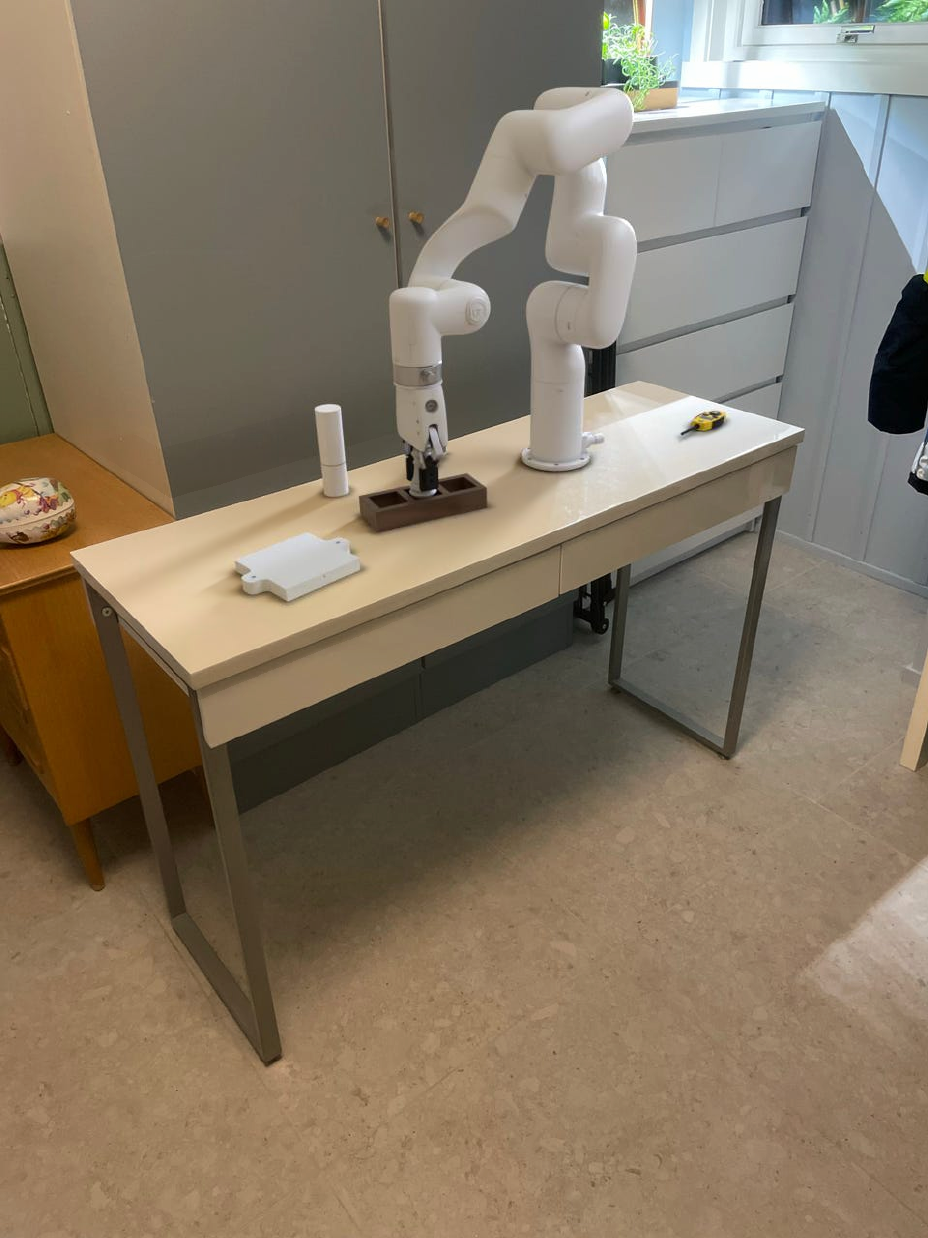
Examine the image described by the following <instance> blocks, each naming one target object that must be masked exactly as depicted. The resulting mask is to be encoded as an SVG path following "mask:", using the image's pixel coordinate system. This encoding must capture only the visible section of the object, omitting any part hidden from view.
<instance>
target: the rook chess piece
mask: <svg viewBox="0 0 928 1238" xmlns="http://www.w3.org/2000/svg"><path fill="white" fill-rule="evenodd" d="M427 447H428V446H427V445H425V448H427ZM430 454H431V452H427V453H425V458H427V456H428V455H430ZM411 455H412V456H413V457H414V461H413V464H414V476H413V478H412V481H410V482H409V485H408V486H409V487H410V491H409V492H410V494H411V495H412V496H413V497H416V498H428V497H431V496H433V495H434V494H435V492H436V489H435V490H430V491H425V492H421V491H420V489H419V469H418V468H421V465H420V458H419V450H418V449H416V448H415V447H413V451H412V452H411Z"/></svg>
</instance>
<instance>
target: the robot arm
mask: <svg viewBox="0 0 928 1238" xmlns="http://www.w3.org/2000/svg"><path fill="white" fill-rule="evenodd" d="M634 119H635V112H634V107H633V104H632V101H631V99H630V97H629V96H628V95H627V94H626V93H625V92H624V91H622V90H621V89H618V88H616V87H584V86H583V87H582V86H581V87H580V86H566V87H565V86H563V87H554V88H551V89H548V90H545V91H543V92H542V93H541V94H540V95H539V96H538V97H537V99H536V100H535V103H534V106H533V109H517V110H514V111H509V112H507V113H506V114H504V115H503V116H501V118H500V119H499V120H498V122H497V123H496V126H495V127H494V130H493V132H492V135H491V137H490V139H489V142H488V144H487V146H486V149H485V151H484V154H483V156H482V159H481V161H480V165H479V167H478V169H477V172H476V174H475V177H474V178H473V182H472V184H471V186H470V189H469V192H468V194H467V195H466V198H465V200H464V202H463V204H462V205H461V207H459V208H458V209H457V210H456V211H455V212H454V213H452V214H451V216H450V217H448V218H447V219H446V220H445V221H444V222H443V223H442V224H441V226H440V227H439V228H437V230H436V231H434V233H433V234H432V235H431V236H430V237H429V239H428V240H427V241H426V243H425V244H424V246H423V248H422V249H421V251H420V252H419V255H418V257H417V259H416V262H415V265H414V267H413V269H412V272H411V274H410V277H409V279H408V280H409V281H408V283H407V287H401V288H398V289H396V290H394V291H393V292H392V293H390V295H389V299H388V309H389V310H388V312H389V329H390V343H391V345H390V346H391V360H392V362H391V363H392V378H393V385H394V386H395V418H396V427H397V429H396V430H397V434H398V435H399V436H400V437H401V439H402V443H403V445H404V448H403V453H404V456H405V475H406V477H405V478H406V481H408V482H412V478H413V476H414V464H413V461H414V457H413V456H412V455H411V452H412V451H413V447H415V448H416V449H418V450H419V458H420V465H421V468H418V469H419V489H420V491H421V492H425V491H430V490H435V489H438V488H439V479H440V477H439V467H440V462H441V461H440V460H442V458H443V457H444V456H443V452H442V448H441V447H443V448H445V447H446V448H447V447H448V445H449V436H448V435H449V434H448V422H447V421H448V420H447V411H446V402H445V396H444V391H443V386H442V384H443V366H442V365H443V363H442V362H443V361H442V337H444V336H463V335H470V334H472V333H475V332H477V331H479V330H480V329H481V328H483V327H484V325H486V324H487V322H488V319H489V318H490V316H491V315H490V314H491V311H492V310H491V307H492V306H491V301H490V297H489V296H488V293H486V291H485V290H484V289H483V288H482V287H480V286H479V285H477V284H474V283H472V282H467V281H463V280H457V279H455V278H452V276H453V275H454V272H455V271H456V269H457V268H458V266H459V265H460V264H461V263H462V261H463V260H464V259H466V257H468V256H469V255H470V254H471V253H472V252H474V251H475V250H478V249H479V248H481V247H483V246H485V245H488V244H490V243H493V242H496V241H497V240H499V239H501V238H503V237H505V236H507V235H509V234H510V233H512V232H513V231H514V230H515V229H516V228H517V224H518V222H519V219H520V217H521V214H522V212H523V210H524V207H525V205H526V203H527V200H528V199H529V196H530V193H531V190H532V188H533V185H534V183H535V181H536V179H537V177H538V176H539V175H544V176H554V185H553V196H552V202H551V207H550V214H549V220H548V226H547V233H546V239H545V249H544V256H545V260H546V263H547V264H548V265H549V266H550V267H551V268H552V269H554V270H556V271H558V272H561V273H564V274H565V273H566V274H570V275H575V276H580V277H581V276H582V277H587V278H588V285H584V284H581V283H576V282H570V281H564V280H547V281H544V282H541V283H540V284H538V285H537V286H535V287H534V288H533V289H532V291H531V292H530V294H529V296H528V298H527V301H526V305H525V320H526V321H525V322H526V327H527V331H528V337H529V338H528V339H529V346H530V417H529V420H530V421H529V428H530V429H529V445H528V446H527V447H525V448H524V449H523V450H522V452H521V455H520V456H521V461H522V463H523V464H525V465H526V466H527V467H530V468H532V469H536V470H540V471H545V472H546V471H547V472H567V471H572V470H578V469H581V468H582V467H584V466H586V465H587V464H588V463H589V462H590V457H591V454H590V452H589V451H588V448H590V447H591V446H593V445H594V446H595V445H599V444H600V445H601V444H603V443H604V442H605V435H604V433H602V432H597V433H594V434H591V432H590V431H583V423H584V402H585V401H584V400H585V399H584V398H585V378H586V361H585V355H584V352H583V349H582V347H585V348H588V349H589V348H590V349H595V350H601V349H606V348H608V347H610V346H611V345H612V344H614V342H616V340H617V339H618V337H619V335H620V333H621V331H622V329H623V327H624V322H625V318H626V314H627V309H628V304H629V299H630V294H631V289H632V284H633V279H634V274H635V270H636V269H635V268H636V263H637V256H638V242H637V235H636V233H635V230H634V228H633V226H632V225H631V224H630V223H629V221H628V220H626V219H623V218H621V217H618V216H612V215H606V214H604V209H605V202H606V195H607V194H606V192H607V187H608V186H607V185H608V179H607V171H606V167H605V164H604V161H603V158H605V157H607V156H609V155H611V154H613V153H614V152H616V151H617V150H619V149H620V148H621V147H622V146H623V145H624V144H625V143H626V141H627V140H628V138H629V137H630V134H631V132H632V130H633V126H634V121H635V120H634ZM427 444H430V447H427V448H425V445H427ZM427 452H432V453H431V455H428V456H427V458H425V453H427Z"/></svg>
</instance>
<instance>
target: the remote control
mask: <svg viewBox="0 0 928 1238" xmlns="http://www.w3.org/2000/svg"><path fill="white" fill-rule="evenodd" d="M726 416H727V413H726V412H725V411H720V410H716V409H715V410H709V411H703V412H701V413H699V414H697V415H695V416H694V418H693V419H692V421H691V427H690V428H688V429H686V430H683V431H681V432H680V436H684V435H686V434H689V433H690V432H692V431H694V430H696V431H701V432H705V431H709V430H714V429H716V428H719V427H721V426H722V425H723V424H724V422H725V421H726V418H727V417H726Z"/></svg>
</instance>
